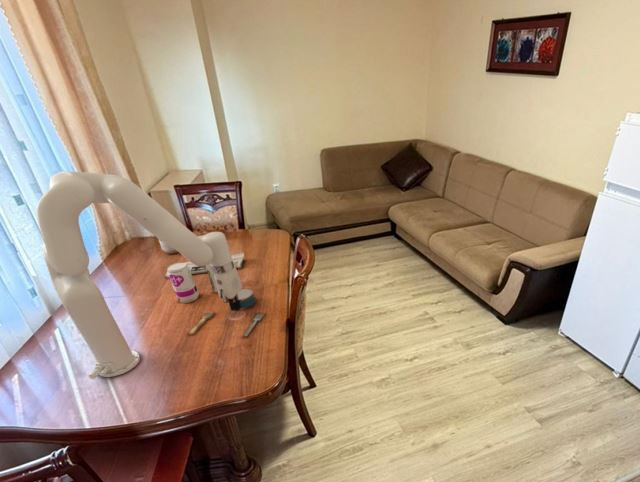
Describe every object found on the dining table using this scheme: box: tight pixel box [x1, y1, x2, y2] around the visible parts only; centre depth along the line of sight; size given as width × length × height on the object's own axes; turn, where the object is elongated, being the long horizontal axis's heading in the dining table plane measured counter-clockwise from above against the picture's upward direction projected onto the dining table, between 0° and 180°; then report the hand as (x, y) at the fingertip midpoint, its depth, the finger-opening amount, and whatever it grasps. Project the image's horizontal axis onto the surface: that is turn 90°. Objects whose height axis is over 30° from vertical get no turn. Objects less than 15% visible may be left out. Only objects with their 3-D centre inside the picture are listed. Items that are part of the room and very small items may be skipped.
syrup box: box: [206, 264, 218, 293], centre depth 165 cm, size 6×6×14 cm
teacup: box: [157, 238, 179, 254], centre depth 204 cm, size 14×11×8 cm
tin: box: [237, 288, 256, 311], centre depth 155 cm, size 9×9×5 cm
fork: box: [243, 313, 265, 338], centre depth 143 cm, size 14×3×1 cm, turn 172°
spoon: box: [188, 310, 215, 336], centre depth 146 cm, size 14×4×1 cm, turn 172°
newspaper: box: [165, 252, 245, 279], centre depth 187 cm, size 35×12×4 cm, turn 101°
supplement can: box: [166, 262, 200, 304], centre depth 159 cm, size 8×8×15 cm
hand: (236, 309), depth 150 cm, fingers closed
